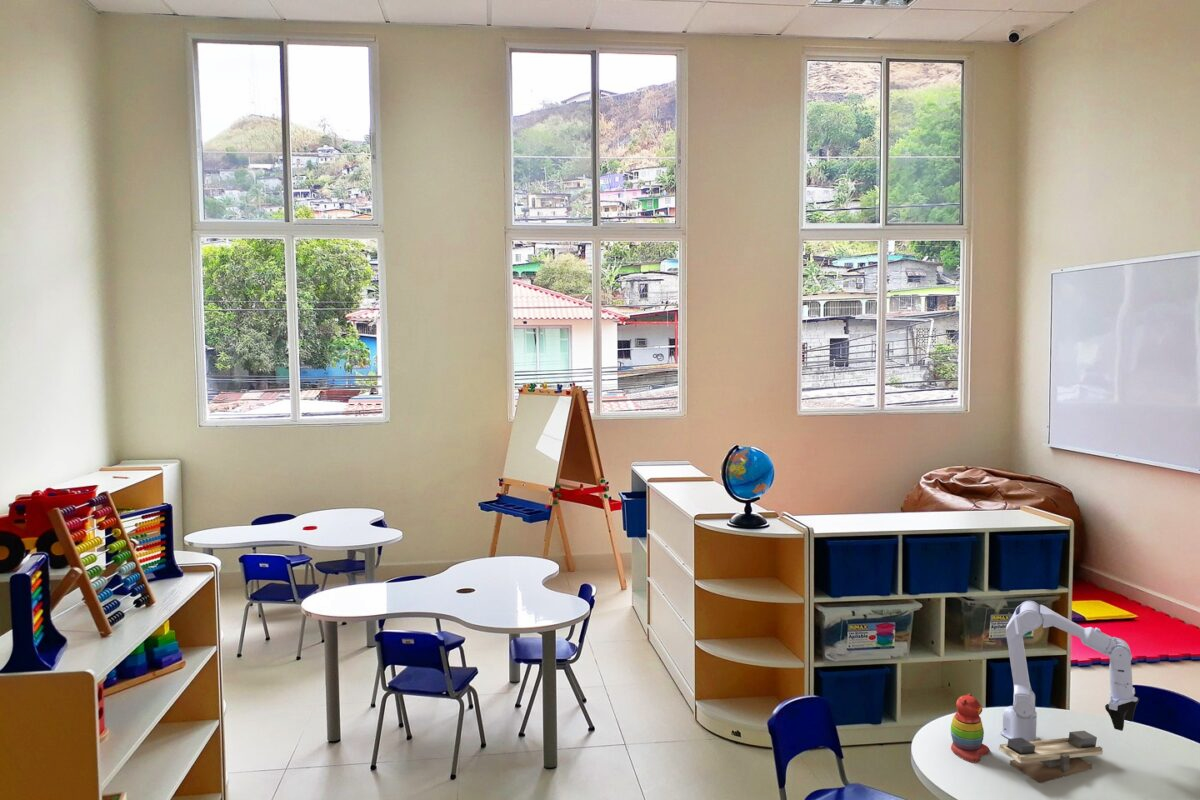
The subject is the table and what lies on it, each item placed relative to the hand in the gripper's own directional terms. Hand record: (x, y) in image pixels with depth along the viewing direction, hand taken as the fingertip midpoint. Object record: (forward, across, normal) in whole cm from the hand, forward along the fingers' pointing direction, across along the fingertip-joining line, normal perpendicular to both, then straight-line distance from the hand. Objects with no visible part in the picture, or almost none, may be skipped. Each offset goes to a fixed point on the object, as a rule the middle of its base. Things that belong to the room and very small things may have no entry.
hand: (1123, 724), depth 256 cm
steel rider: (+6, -9, +8) cm, 14 cm away
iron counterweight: (+1, -32, +16) cm, 36 cm away
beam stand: (+9, -21, +13) cm, 26 cm away
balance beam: (+4, -21, +12) cm, 24 cm away
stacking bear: (+7, -30, +33) cm, 46 cm away
